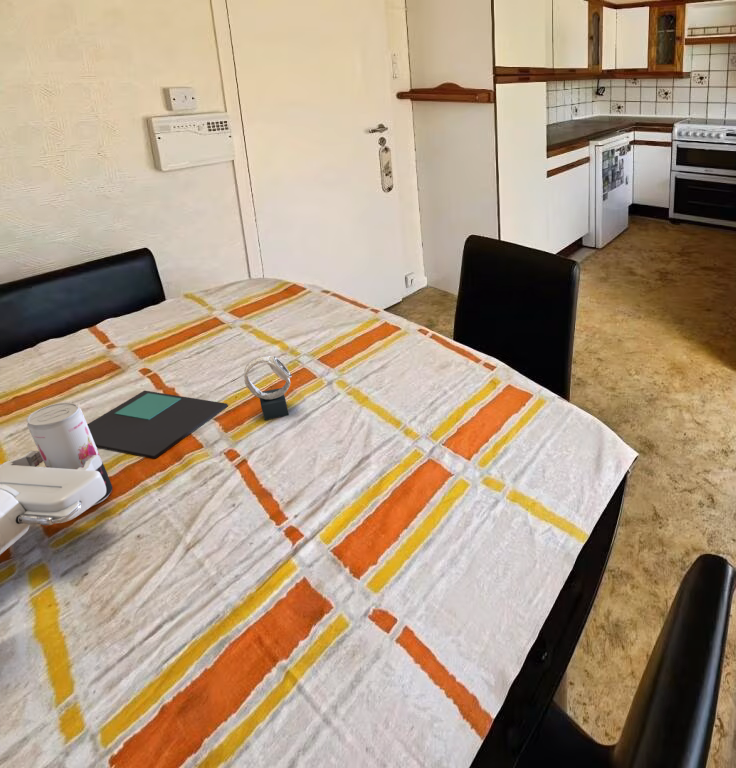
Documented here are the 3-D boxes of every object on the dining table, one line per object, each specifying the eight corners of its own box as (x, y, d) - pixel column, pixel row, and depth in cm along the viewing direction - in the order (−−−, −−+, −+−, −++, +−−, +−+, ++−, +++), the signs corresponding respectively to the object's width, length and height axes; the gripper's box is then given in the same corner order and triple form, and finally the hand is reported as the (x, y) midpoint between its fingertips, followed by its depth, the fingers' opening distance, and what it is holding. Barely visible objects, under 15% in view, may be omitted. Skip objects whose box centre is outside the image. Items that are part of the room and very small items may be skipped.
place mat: (64, 441, 110) (63, 438, 109) (145, 392, 125) (144, 390, 124) (155, 458, 104) (154, 455, 104) (228, 406, 119) (227, 403, 119)
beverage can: (120, 495, 96) (86, 411, 89) (72, 517, 91) (32, 430, 84) (104, 478, 100) (71, 397, 92) (58, 498, 95) (19, 414, 88)
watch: (299, 412, 116) (288, 359, 111) (254, 422, 114) (240, 369, 108) (296, 399, 121) (285, 348, 116) (252, 408, 118) (238, 356, 113)
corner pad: (114, 414, 116) (114, 413, 116) (148, 393, 123) (148, 393, 123) (148, 420, 114) (148, 419, 114) (181, 399, 121) (180, 398, 121)
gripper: (50, 505, 76) (125, 442, 88) (-95, 494, 79) (-3, 434, 91) (68, 544, 79) (139, 478, 91) (-72, 532, 82) (14, 469, 94)
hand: (67, 456), depth 91 cm, fingers open, 8 cm apart
